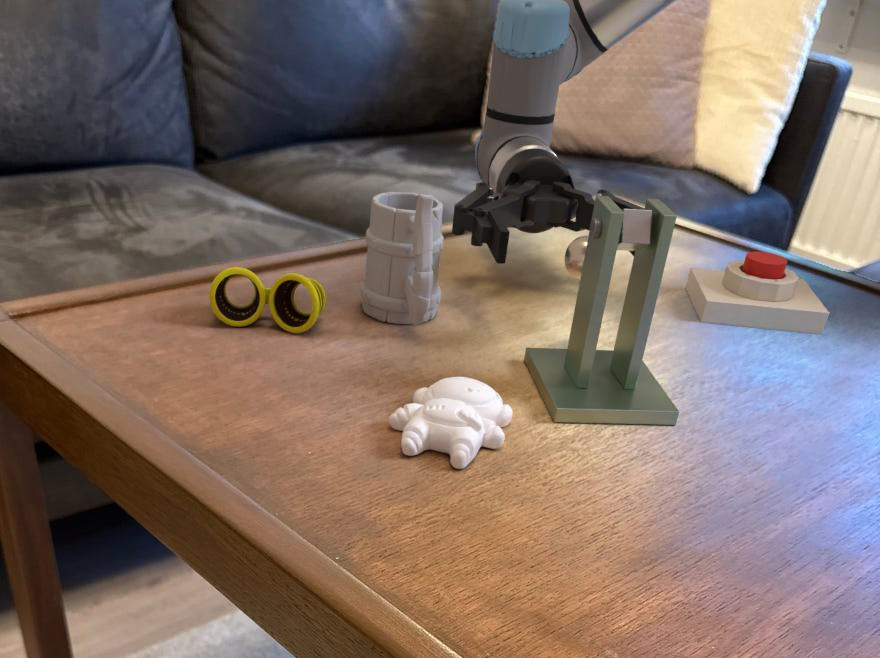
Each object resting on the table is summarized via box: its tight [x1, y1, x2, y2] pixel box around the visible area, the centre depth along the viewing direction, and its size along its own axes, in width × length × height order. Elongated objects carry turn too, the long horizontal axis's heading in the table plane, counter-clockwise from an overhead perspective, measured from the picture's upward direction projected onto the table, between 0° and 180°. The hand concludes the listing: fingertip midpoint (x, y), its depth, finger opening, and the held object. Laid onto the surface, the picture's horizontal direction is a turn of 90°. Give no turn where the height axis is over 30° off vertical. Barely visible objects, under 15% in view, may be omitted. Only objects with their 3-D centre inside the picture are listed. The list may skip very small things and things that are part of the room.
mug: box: [359, 191, 445, 326], centre depth 88 cm, size 8×12×12 cm, turn 14°
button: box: [742, 250, 788, 280], centre depth 98 cm, size 4×4×2 cm
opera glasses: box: [208, 266, 327, 334], centre depth 87 cm, size 10×5×5 cm, turn 85°
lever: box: [564, 209, 652, 281], centre depth 80 cm, size 14×4×4 cm, turn 6°
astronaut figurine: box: [388, 376, 514, 470], centre depth 74 cm, size 9×12×3 cm
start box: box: [684, 259, 830, 335], centre depth 100 cm, size 12×10×4 cm
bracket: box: [523, 195, 680, 426], centre depth 78 cm, size 12×10×15 cm
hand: (579, 251), depth 86 cm, fingers open, 13 cm apart
